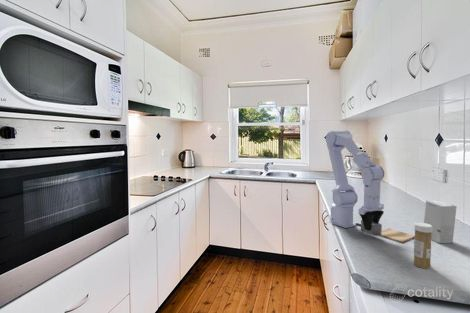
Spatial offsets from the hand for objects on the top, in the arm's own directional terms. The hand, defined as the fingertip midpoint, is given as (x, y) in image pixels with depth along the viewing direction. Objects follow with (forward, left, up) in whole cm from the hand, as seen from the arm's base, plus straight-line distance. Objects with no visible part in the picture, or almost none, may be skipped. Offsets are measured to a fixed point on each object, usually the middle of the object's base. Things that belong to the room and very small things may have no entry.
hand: (370, 228), depth 105 cm
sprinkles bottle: (+22, -9, -4) cm, 24 cm away
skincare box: (+16, +19, -4) cm, 25 cm away
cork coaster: (+5, +9, -3) cm, 11 cm away
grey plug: (-1, 0, -1) cm, 2 cm away
